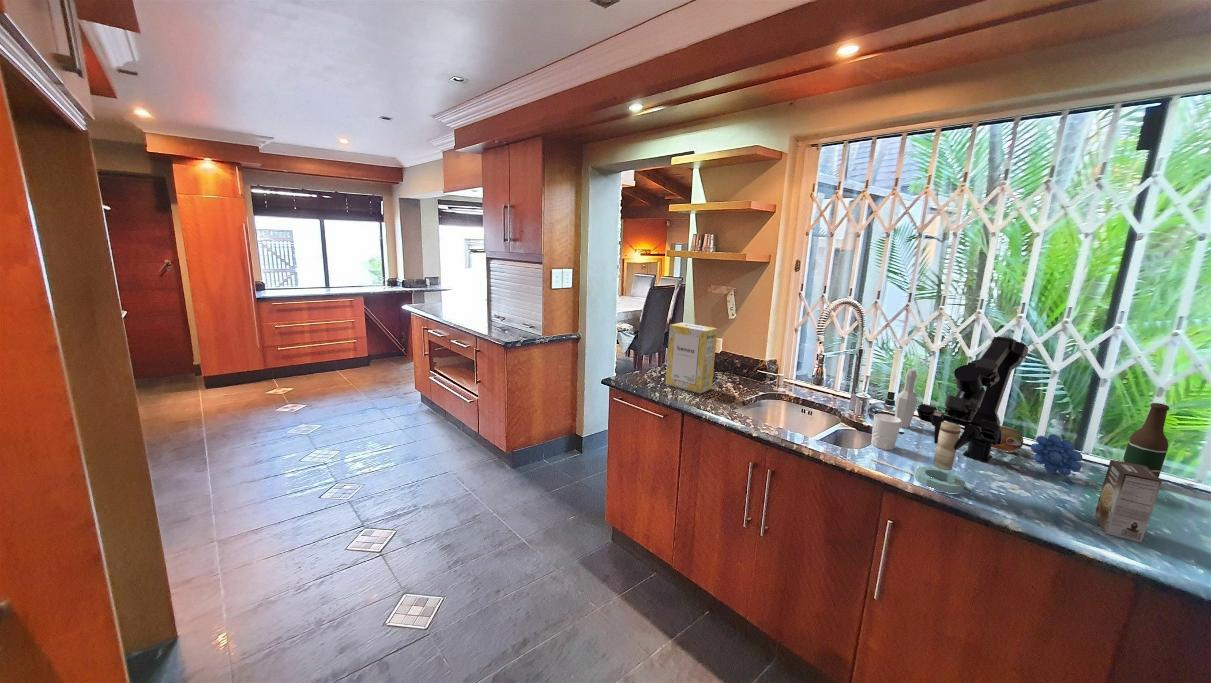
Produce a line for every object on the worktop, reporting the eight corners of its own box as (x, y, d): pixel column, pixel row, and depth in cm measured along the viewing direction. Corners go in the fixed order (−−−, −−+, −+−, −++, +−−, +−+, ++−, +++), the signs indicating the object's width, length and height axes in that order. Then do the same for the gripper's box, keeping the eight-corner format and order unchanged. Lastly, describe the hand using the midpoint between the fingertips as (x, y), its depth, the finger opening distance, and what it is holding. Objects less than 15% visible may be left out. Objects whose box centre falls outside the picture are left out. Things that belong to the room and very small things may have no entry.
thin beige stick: (872, 459, 144) (872, 458, 144) (915, 475, 135) (916, 473, 135) (871, 460, 143) (871, 459, 143) (914, 476, 134) (915, 474, 134)
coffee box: (1091, 516, 117) (1109, 458, 114) (1127, 524, 114) (1146, 465, 111) (1105, 534, 110) (1124, 472, 106) (1144, 544, 106) (1164, 481, 103)
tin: (963, 441, 162) (968, 418, 161) (965, 438, 164) (970, 416, 163) (1019, 456, 151) (1025, 432, 149) (1021, 454, 153) (1027, 430, 152)
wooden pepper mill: (943, 462, 132) (952, 421, 129) (956, 470, 127) (965, 428, 125) (928, 462, 131) (937, 421, 129) (941, 470, 127) (950, 428, 124)
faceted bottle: (891, 426, 173) (902, 369, 169) (892, 421, 178) (902, 366, 174) (911, 430, 170) (922, 373, 165) (911, 425, 175) (922, 369, 170)
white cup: (900, 452, 150) (905, 423, 148) (874, 449, 152) (879, 420, 150) (890, 442, 158) (895, 415, 156) (865, 439, 159) (870, 412, 157)
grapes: (1024, 469, 142) (1033, 433, 139) (1026, 463, 146) (1035, 428, 144) (1077, 484, 134) (1088, 446, 131) (1077, 477, 138) (1088, 440, 136)
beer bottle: (1143, 476, 141) (1167, 402, 136) (1164, 488, 134) (1189, 410, 129) (1111, 471, 144) (1133, 398, 138) (1129, 482, 136) (1153, 406, 131)
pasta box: (665, 384, 213) (669, 324, 207) (677, 379, 221) (681, 322, 215) (700, 393, 201) (706, 331, 195) (711, 388, 209) (717, 328, 203)
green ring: (922, 470, 138) (924, 463, 137) (967, 486, 130) (969, 478, 129) (909, 481, 131) (911, 473, 131) (956, 498, 123) (958, 490, 122)
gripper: (925, 376, 134) (902, 419, 130) (1007, 395, 119) (984, 444, 115) (930, 397, 140) (909, 439, 136) (1008, 417, 126) (987, 464, 122)
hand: (945, 446), depth 127 cm, fingers closed on wooden pepper mill, 4 cm apart
